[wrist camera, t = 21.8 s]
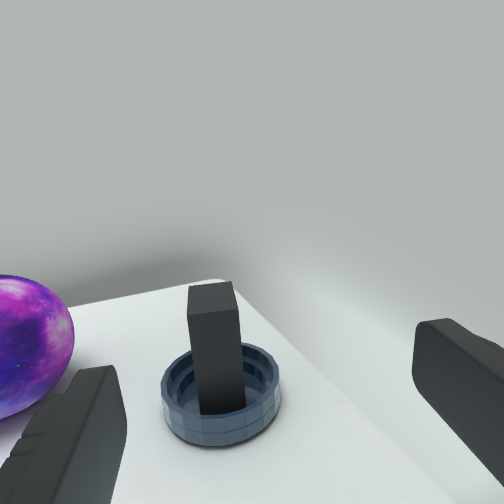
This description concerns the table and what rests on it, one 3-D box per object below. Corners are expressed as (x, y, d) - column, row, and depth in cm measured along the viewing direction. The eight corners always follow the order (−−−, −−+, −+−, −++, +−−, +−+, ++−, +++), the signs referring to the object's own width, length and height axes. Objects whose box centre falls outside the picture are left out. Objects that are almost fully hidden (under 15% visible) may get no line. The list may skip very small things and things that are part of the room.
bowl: (277, 363, 42) (276, 339, 41) (283, 448, 30) (282, 417, 29) (180, 367, 42) (176, 343, 41) (149, 452, 30) (143, 421, 29)
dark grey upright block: (239, 375, 39) (231, 280, 35) (247, 417, 33) (238, 308, 29) (201, 381, 39) (188, 286, 35) (201, 425, 32) (186, 314, 29)
